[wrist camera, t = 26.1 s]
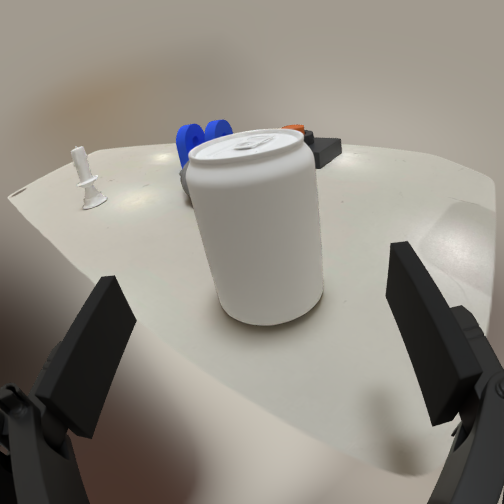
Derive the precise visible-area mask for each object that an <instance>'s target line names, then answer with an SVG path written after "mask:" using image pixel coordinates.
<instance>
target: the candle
mask: <svg viewBox="0 0 504 504" xmlns="http://www.w3.org/2000/svg"><path fill="white" fill-rule="evenodd" d="M75 147H76V146H75ZM71 155H72V159H73V162H74V166H75V168H76V169H77V172H78V175H79V178H80V181H81V182H79V183H78V184H77V185H76V186H77V187H83V188H85V198H84V205H83V209H90V208H93V207H95V206H98V205H100V204H101V203H103V202H104V201H106V199H107V197H106V196H103V194H102V193H101V192H99V191H98V190H97V189H96V188H95V187H94V185H93V184H94V182H95V181H96V179H97V178H98V176H92V173H91V170H90V167H89V164H88V161H87V154H86V153H85V149H84V147H83V146H81V147H78V148H77V147H76V148H75V149H74V150H72V151H71Z"/></svg>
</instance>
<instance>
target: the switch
mask: <svg viewBox="0 0 504 504" xmlns="http://www.w3.org/2000/svg"><path fill="white" fill-rule="evenodd" d="M281 129H292V130H297V131H300V132H302V133H303V135H304V134H305V132H304V126H303V125H289V126H285V127H282V128H281Z"/></svg>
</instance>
